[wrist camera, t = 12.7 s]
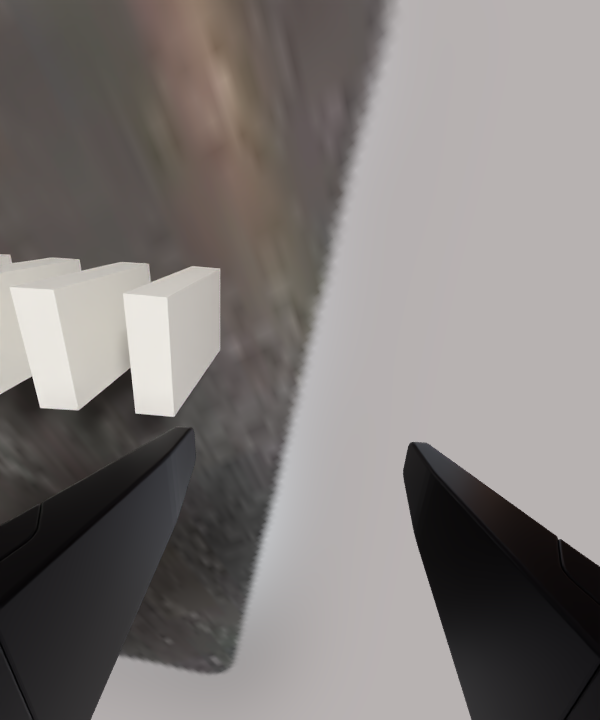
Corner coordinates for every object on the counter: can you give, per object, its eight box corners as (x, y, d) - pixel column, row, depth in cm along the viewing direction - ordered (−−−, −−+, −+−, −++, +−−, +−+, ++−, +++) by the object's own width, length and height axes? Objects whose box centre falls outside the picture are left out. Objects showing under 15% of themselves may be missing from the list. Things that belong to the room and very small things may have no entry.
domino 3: (220, 268, 20) (167, 297, 13) (220, 349, 22) (174, 417, 14) (192, 266, 20) (122, 293, 13) (194, 347, 22) (135, 413, 14)
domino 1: (79, 259, 20) (-58, 283, 13) (93, 341, 22) (-18, 404, 14) (51, 257, 20) (-102, 280, 13) (68, 339, 22) (-56, 401, 14)
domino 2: (148, 263, 20) (53, 289, 13) (157, 345, 22) (78, 410, 14) (121, 262, 20) (9, 286, 13) (131, 343, 22) (40, 407, 14)
